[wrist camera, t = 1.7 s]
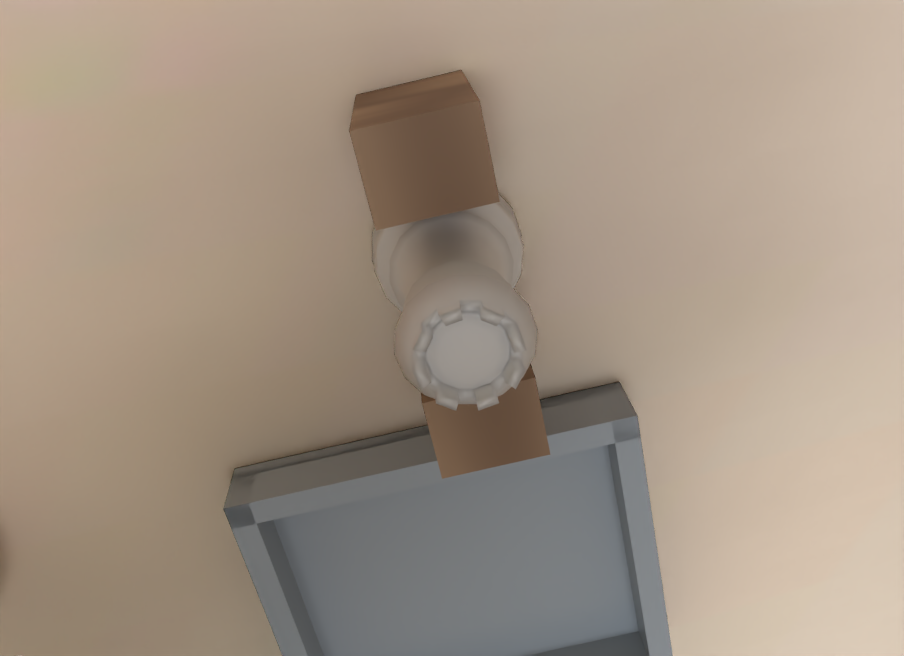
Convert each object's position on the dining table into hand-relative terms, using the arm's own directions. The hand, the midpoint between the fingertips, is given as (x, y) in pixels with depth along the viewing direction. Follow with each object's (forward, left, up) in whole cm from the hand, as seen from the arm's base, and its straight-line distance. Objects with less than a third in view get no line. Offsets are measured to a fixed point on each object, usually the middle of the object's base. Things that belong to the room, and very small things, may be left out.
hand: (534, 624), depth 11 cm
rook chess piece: (0, 0, -16) cm, 16 cm away
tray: (-2, -12, -16) cm, 20 cm away
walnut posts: (0, 0, -16) cm, 16 cm away
